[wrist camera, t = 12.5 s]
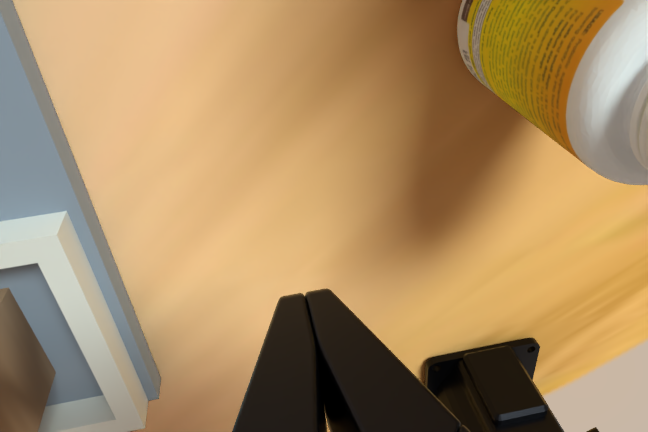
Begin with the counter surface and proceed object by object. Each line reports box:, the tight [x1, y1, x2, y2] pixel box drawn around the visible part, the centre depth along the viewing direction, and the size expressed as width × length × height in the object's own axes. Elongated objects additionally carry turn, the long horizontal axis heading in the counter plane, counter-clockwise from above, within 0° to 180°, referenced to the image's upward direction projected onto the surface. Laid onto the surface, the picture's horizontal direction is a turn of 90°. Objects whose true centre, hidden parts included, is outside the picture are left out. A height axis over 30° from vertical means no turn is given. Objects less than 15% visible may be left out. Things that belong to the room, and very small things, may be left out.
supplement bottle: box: [457, 0, 648, 185], centre depth 15 cm, size 6×6×10 cm
